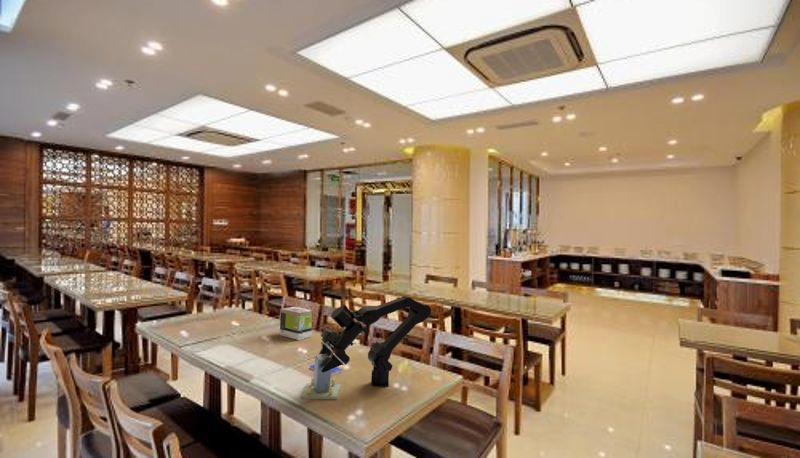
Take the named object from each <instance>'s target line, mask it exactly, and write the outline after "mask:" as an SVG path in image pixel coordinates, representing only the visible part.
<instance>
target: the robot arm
mask: <svg viewBox="0 0 800 458" xmlns="http://www.w3.org/2000/svg"><path fill="white" fill-rule="evenodd" d="M406 308H408V309H409V311H408V313H407V314H408V315H407V317H406V318H405V319H404V320H403V321H402V322H401V323H400V324H399V325H397V327H396V328H395V329H394V331H392V332H391V334H389V336H388V337H387V338H386V339H385V340H384V341H383V342H380V343H379V342H378V341H376V342H375V343H374V344H373V345H372V347H370V348H369V351H368V353H367V359H368V361H370V364H371V365H372V367H373V369H371V380H370V382H371V385H372V387H389V386H390V383H389V382H390V380H389V377H390V372H391V371H392V369H393V364H392V363H391V362H390V361H389V360H390V358H391V355H392V352H393V351H394V349H395V348H396V347H397V346H398V345H399V344H400V343H401V341H403V340H404V339H405V337H407V335H408V334H409V333H410V332H411V331H412V330H413V329H414V328H415V326H417V325H418V324H421V323H423V322H425V321H426V320H427V319H428V318H429V317H430V316H432V308H431V307H430V305H428V304H426V303H424V302H420V301H417V300H415V299H414V298H412V297H411V296H408V295H402V296H401V297H399V298H396V299H393V300H390V301H387V302H384V303H382V304H379V305H369V306H364V307H360V308H359V309H358V310H354V311H351V310H350V309H349V307H348V306H347V305H346V304H342V305H341V306H339V307H337V308H335V309H334V310H333V311H332V313H331V315H330V318H331V319H332V320H333V321H334V322H335V323H336V324H337V325H338V326H339V327H340V328H344V329H343V330H342V331H341V330H339V331H334V330H330V329H328V328H323V331H322V332H321V334H320V337H322V338H321V349H320V350H319V354H328V355H329V356H330V359H329V360H328V362H327V363H326V364H325V366H324V367H323V369H322V370H321V371H322V372H323V373H324V372H326V371H328V370H331V369H333V368H335V367H337V368H339V367H340V366H344V365H347V364H349V362H350V361H351V360H350V356H349V355H348V354H347V353H346V350H347V348H349V346H353V345H354V343H353V342H354V341H355V340H356V338H358V336H359V335H361V333H363V334H365V335H367V334H368V330H367V329H368V327H367V326H371V325H373V324H374V323H376V322H378V321H379V320H380V319H381V318H382V317H384V316H387V315H390V314H392V313H395V312H398V311H400V310H402V309H406ZM361 323H362V324H361Z"/></svg>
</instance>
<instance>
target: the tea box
mask: <svg viewBox="0 0 800 458" xmlns="http://www.w3.org/2000/svg"><path fill="white" fill-rule="evenodd" d="M279 319H280V320H279V321H280V322H279V324H280V325H279V336H282V337H286V338H290V339H293V340H297V341H300V340H304V338H305V339H308V338H311V337H312V333H313V332H312V331H313V329H312V328H313V309H309V308H304V307H298V306H291V307H290V306H289V307H285V308H280V318H279Z"/></svg>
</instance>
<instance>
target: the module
mask: <svg viewBox="0 0 800 458" xmlns="http://www.w3.org/2000/svg"><path fill="white" fill-rule="evenodd" d="M330 357H331V355H330V356H329V355H328V354H315V356H314V365H315V367H314V370H313V374H314V375H313V378H314V390H315V392H316V393H323V392H329V387H330V384H331V379H332V378H331V377H332V375H331V370H328V371H326V372H324V373H323V372H322V371H321V370H322V369H323V367H324V366H325V364H326V363H327V362H328V360H329V359H330Z"/></svg>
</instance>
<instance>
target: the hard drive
mask: <svg viewBox="0 0 800 458" xmlns="http://www.w3.org/2000/svg"><path fill="white" fill-rule="evenodd" d="M314 367H315V364H311V365H309V369H311V370H313V371H314ZM340 373H341V374H342V373H343V369H341V368H339V367H335V368H333V369H331V376H333V375H338V374H340Z"/></svg>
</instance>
